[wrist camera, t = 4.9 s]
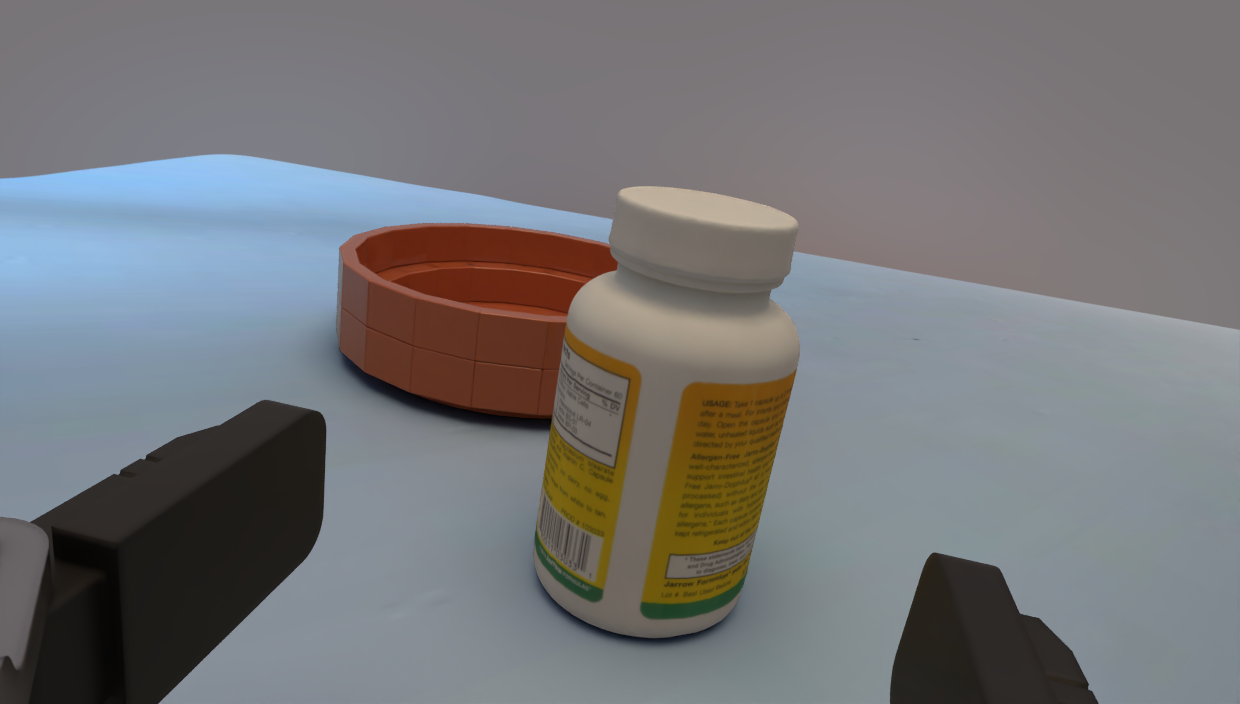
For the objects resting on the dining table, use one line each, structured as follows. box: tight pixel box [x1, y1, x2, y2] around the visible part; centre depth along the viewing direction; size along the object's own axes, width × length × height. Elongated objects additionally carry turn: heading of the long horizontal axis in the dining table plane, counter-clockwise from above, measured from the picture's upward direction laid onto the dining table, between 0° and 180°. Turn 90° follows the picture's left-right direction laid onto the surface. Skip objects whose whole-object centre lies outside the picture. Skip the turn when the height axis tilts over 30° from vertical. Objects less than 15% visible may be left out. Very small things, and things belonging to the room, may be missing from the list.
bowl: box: [336, 223, 618, 419], centre depth 34 cm, size 14×14×4 cm
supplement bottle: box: [533, 186, 800, 638], centre depth 20 cm, size 5×5×10 cm
